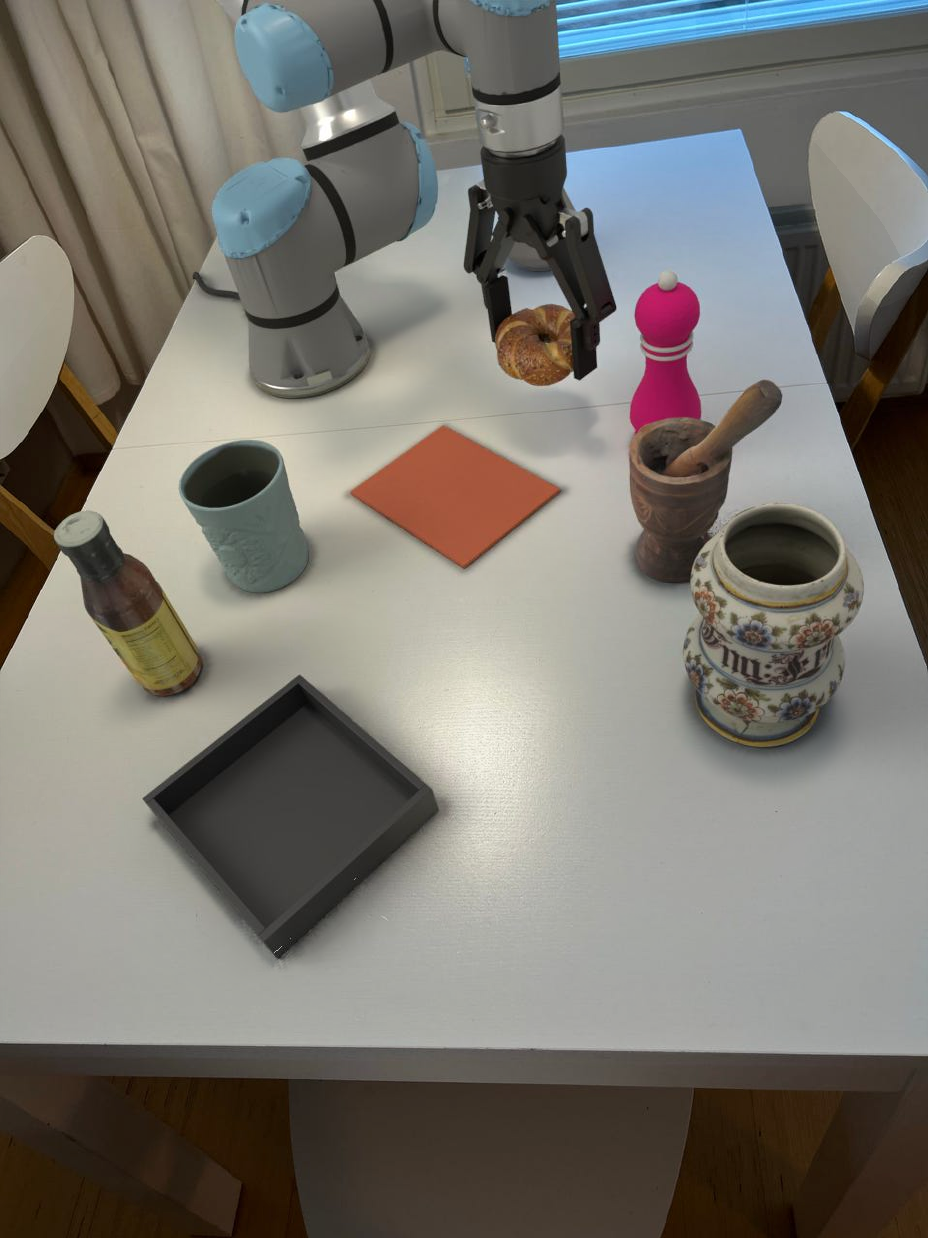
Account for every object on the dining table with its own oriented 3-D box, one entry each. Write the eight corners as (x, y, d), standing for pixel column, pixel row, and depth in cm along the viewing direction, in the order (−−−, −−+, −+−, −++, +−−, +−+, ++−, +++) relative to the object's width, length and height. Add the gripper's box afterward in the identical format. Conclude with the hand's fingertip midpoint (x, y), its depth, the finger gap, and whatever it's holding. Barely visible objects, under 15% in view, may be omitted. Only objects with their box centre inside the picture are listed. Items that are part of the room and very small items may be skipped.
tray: (157, 818, 78) (141, 798, 76) (309, 696, 85) (299, 673, 82) (277, 959, 69) (263, 941, 66) (439, 810, 75) (432, 789, 73)
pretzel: (592, 389, 94) (590, 357, 91) (486, 392, 96) (481, 361, 94) (602, 322, 101) (600, 291, 99) (503, 327, 104) (498, 296, 101)
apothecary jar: (863, 730, 74) (912, 575, 61) (722, 779, 73) (740, 632, 60) (785, 623, 82) (813, 464, 69) (657, 666, 81) (660, 513, 68)
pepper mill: (698, 468, 97) (707, 292, 82) (627, 467, 98) (623, 294, 83) (700, 424, 101) (710, 249, 86) (633, 423, 103) (630, 252, 88)
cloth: (350, 494, 102) (349, 491, 102) (443, 427, 107) (443, 425, 107) (464, 568, 92) (463, 565, 92) (560, 491, 97) (560, 488, 97)
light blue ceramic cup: (238, 612, 93) (194, 524, 84) (208, 553, 99) (165, 465, 90) (331, 569, 95) (298, 479, 86) (296, 513, 101) (262, 424, 92)
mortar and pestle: (741, 513, 92) (760, 334, 77) (767, 577, 86) (792, 397, 71) (623, 532, 92) (619, 358, 77) (640, 596, 87) (639, 422, 72)
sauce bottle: (145, 653, 91) (48, 501, 76) (208, 643, 91) (122, 488, 76) (135, 708, 87) (30, 558, 72) (201, 697, 86) (109, 545, 71)
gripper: (403, 131, 88) (442, 336, 104) (595, 187, 75) (605, 412, 91) (460, 100, 90) (489, 304, 107) (655, 149, 77) (654, 373, 94)
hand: (543, 354), depth 99 cm, fingers closed on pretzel, 11 cm apart
